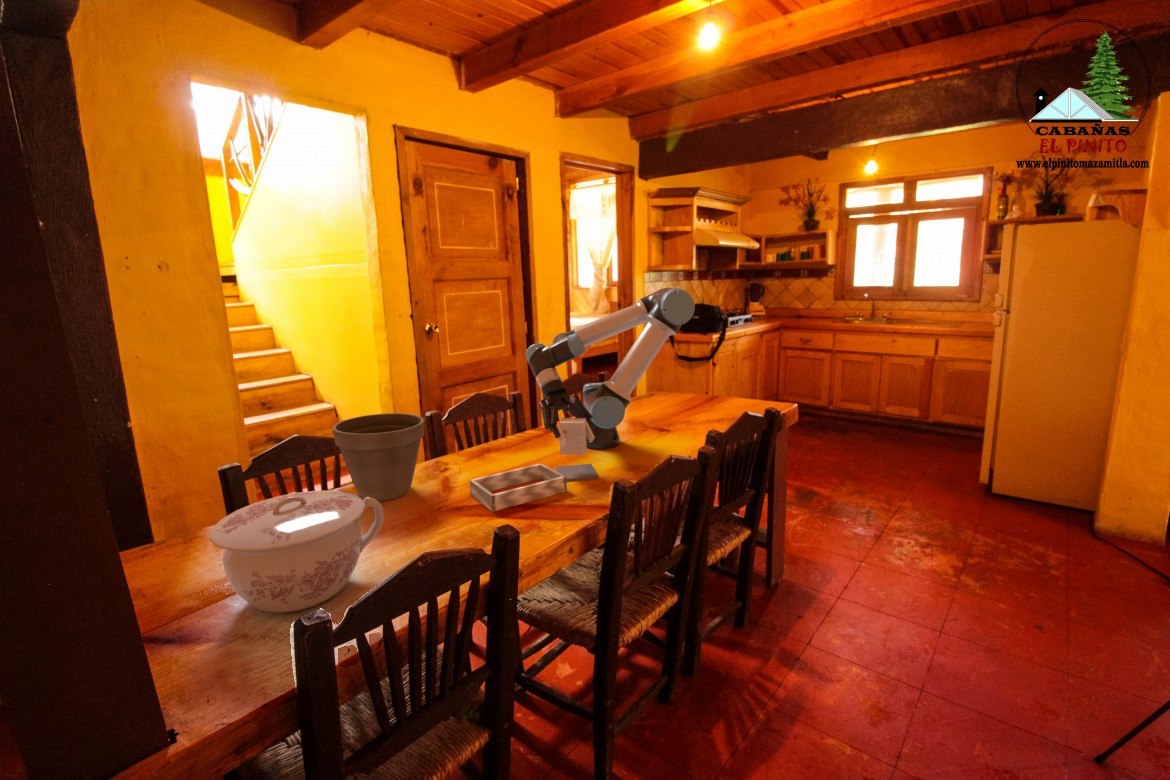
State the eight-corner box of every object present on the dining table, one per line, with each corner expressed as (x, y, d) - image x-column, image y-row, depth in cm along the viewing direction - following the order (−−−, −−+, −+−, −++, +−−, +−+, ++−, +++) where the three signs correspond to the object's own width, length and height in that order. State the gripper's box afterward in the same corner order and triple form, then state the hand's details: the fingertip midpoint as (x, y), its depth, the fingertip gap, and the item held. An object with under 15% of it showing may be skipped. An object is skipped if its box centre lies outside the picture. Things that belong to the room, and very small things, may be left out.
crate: (541, 476, 176) (540, 463, 175) (567, 491, 164) (566, 476, 163) (470, 494, 162) (469, 480, 162) (492, 511, 150) (491, 496, 149)
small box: (586, 449, 179) (586, 418, 177) (585, 455, 173) (584, 422, 171) (562, 449, 180) (561, 417, 178) (559, 454, 174) (559, 422, 172)
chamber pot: (188, 636, 100) (168, 530, 96) (271, 560, 127) (258, 474, 123) (343, 633, 100) (330, 526, 96) (394, 557, 127) (385, 471, 123)
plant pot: (429, 473, 181) (423, 408, 176) (429, 502, 158) (423, 428, 153) (346, 482, 174) (339, 415, 170) (334, 514, 151) (325, 437, 147)
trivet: (591, 465, 185) (591, 463, 185) (598, 478, 173) (598, 476, 173) (555, 468, 183) (555, 466, 183) (560, 481, 171) (560, 479, 171)
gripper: (575, 387, 192) (602, 442, 182) (517, 396, 179) (544, 455, 170) (583, 374, 186) (612, 430, 177) (525, 382, 174) (552, 443, 164)
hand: (578, 442), depth 173 cm, fingers closed on small box, 9 cm apart
